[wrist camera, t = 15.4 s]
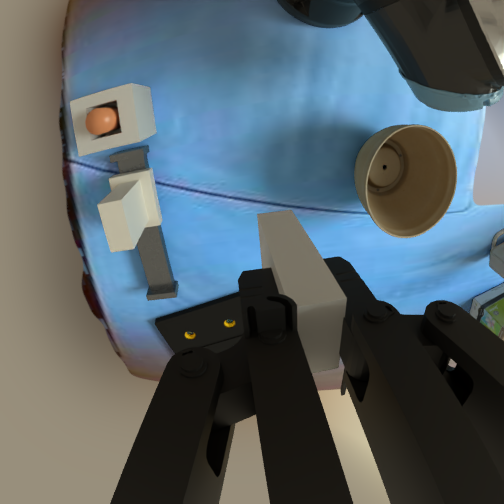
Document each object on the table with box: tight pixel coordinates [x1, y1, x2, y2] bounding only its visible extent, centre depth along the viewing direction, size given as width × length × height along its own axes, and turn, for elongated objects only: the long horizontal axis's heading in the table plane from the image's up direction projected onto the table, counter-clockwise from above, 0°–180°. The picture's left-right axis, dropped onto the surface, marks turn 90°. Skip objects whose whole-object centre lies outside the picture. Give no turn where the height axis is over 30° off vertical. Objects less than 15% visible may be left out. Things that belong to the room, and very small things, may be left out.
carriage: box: [98, 168, 162, 252], centre depth 37 cm, size 8×6×11 cm
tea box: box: [469, 283, 504, 341], centre depth 59 cm, size 15×10×15 cm, turn 103°
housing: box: [70, 83, 157, 157], centre depth 34 cm, size 7×8×10 cm
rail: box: [109, 145, 179, 300], centre depth 45 cm, size 24×5×4 cm, turn 5°
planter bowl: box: [354, 125, 457, 238], centre depth 41 cm, size 16×16×11 cm
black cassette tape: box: [155, 292, 244, 354], centre depth 57 cm, size 18×12×2 cm, turn 109°
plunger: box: [85, 107, 121, 135], centre depth 31 cm, size 3×3×6 cm
